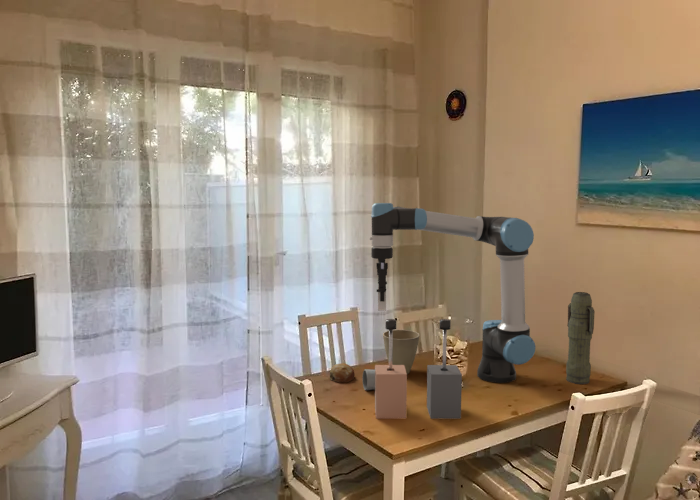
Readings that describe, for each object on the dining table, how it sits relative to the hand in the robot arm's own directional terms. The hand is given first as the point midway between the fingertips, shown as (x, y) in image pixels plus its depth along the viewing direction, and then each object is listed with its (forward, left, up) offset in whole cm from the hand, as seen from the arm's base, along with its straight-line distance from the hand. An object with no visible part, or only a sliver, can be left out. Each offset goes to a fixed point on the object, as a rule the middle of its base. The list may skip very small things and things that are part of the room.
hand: (381, 306), depth 206 cm
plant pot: (-9, -29, -34) cm, 46 cm away
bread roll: (+15, -21, -34) cm, 43 cm away
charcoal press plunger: (-20, +14, -24) cm, 35 cm away
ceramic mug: (+3, -10, -34) cm, 36 cm away
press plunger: (-2, +14, -24) cm, 28 cm away
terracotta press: (-2, +13, -34) cm, 36 cm away
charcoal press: (-20, +13, -34) cm, 41 cm away
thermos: (-78, -19, -34) cm, 88 cm away
